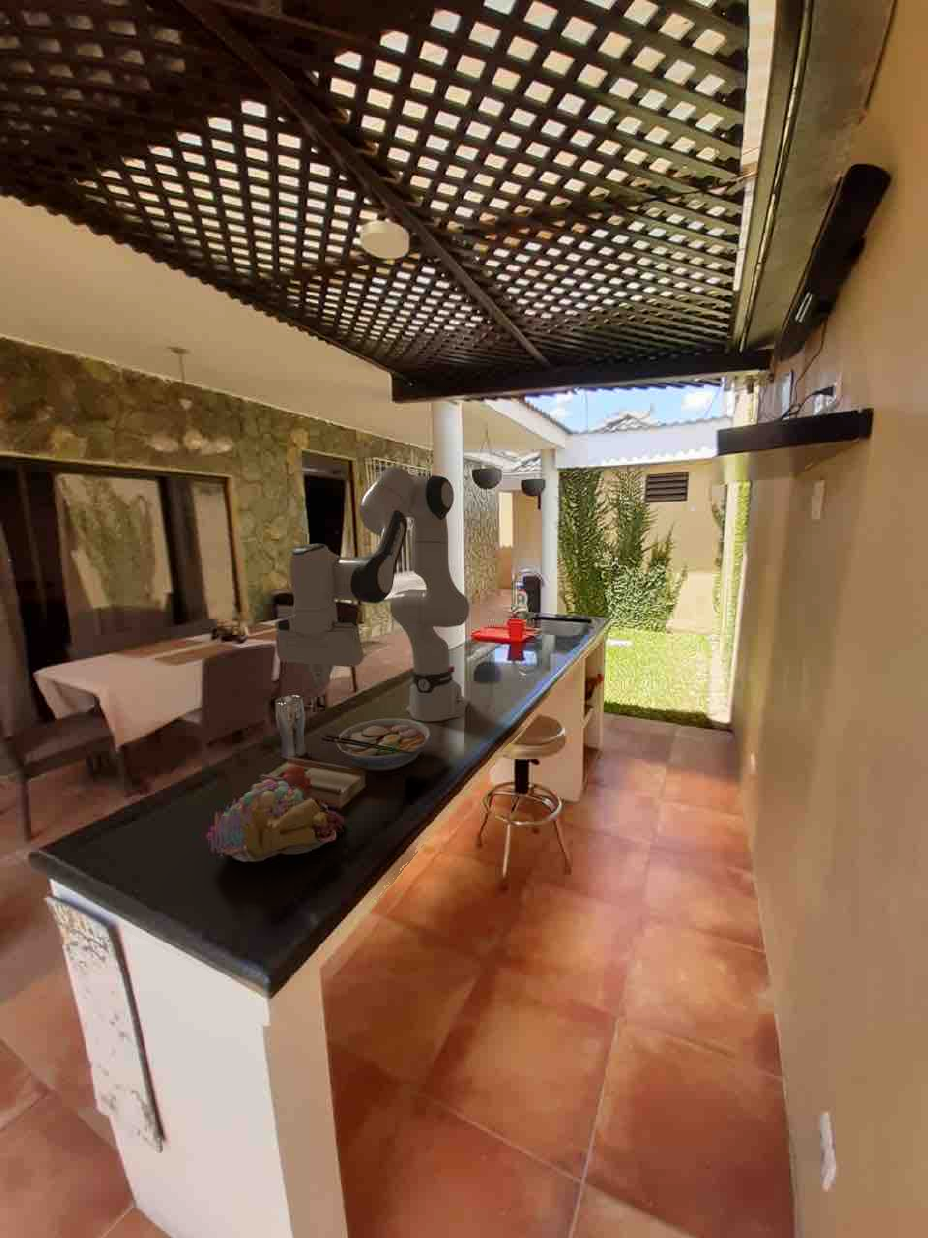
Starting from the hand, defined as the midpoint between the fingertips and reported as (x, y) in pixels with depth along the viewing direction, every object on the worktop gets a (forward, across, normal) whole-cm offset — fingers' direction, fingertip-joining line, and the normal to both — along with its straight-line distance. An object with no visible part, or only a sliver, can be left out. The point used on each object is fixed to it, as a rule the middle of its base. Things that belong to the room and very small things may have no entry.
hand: (322, 682), depth 107 cm
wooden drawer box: (+24, +3, +3) cm, 25 cm away
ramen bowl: (+25, -7, -12) cm, 28 cm away
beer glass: (+25, +19, -10) cm, 33 cm away
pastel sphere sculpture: (+22, -2, +21) cm, 30 cm away
